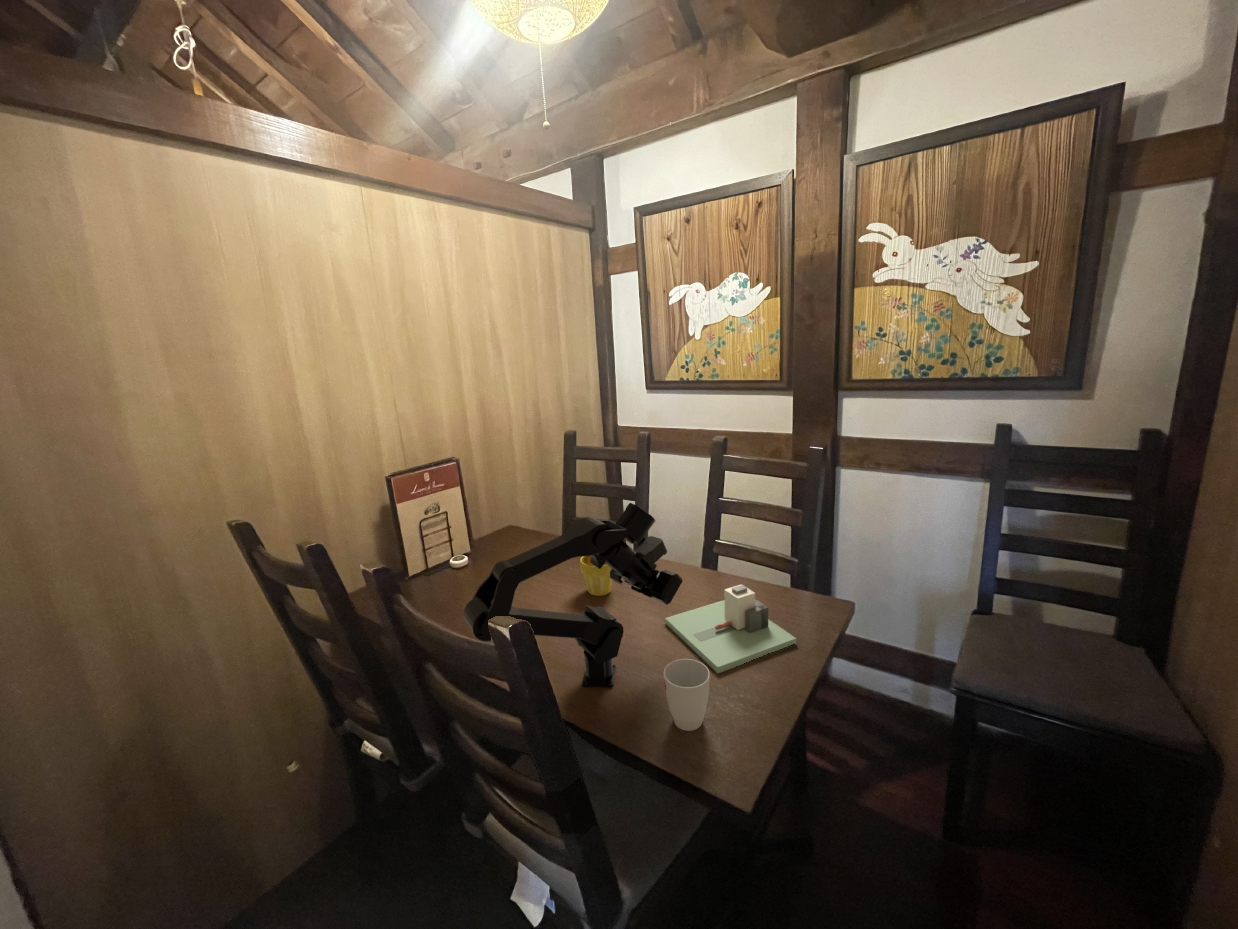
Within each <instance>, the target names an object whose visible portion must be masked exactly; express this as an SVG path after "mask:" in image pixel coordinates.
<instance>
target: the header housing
mask: <svg viewBox="0 0 1238 929" xmlns="http://www.w3.org/2000/svg"><path fill="white" fill-rule="evenodd" d="M768 619H769V607H768V606H767V605H765V604H764V603H762V602H761V601H759V600H758V599H756V598H755V608H752V609H749V610H746V631H748V632H749V633H752V632H755V631H758V630H761V629H764V628H767V627H768Z"/></svg>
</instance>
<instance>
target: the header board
mask: <svg viewBox="0 0 1238 929" xmlns="http://www.w3.org/2000/svg"><path fill="white" fill-rule="evenodd" d="M664 620H665V621H664V622H665V624H666V626H667V627H669V629H670V630H671V631H672V632H674V634H676V635H677V637H679V638H680V639H681V640H682V641H683V642H684V643H685V644H686V645H687V646H688V647H690V649H691V650H693V652H695V653H696V654H697V656H698V657H700V658H701V659H702V660H703V662H705V663H706V664H707V665H709V667H710V668H712V669H713V671H715V673H716V674H720V673H721V674H722V673H723V672H726V671H728V670H731V669H734V668H736V666H737V667H739V666H741V665H744V663H745V664H747V663H750V662H752V661H751V660H753V659H755V660H757V659H756V658H758V657H760V656H763V655H766V654H768V653H771V652H773V651H776V650H779V649H782V648H784V647H787V646H789V645H791V644H794V643H796V644H797V638H796V636H793V635H792V634H791V633H789V632H788V631H786V630H785V629H784V628H782V627H781V626H779V625H778V624H776V623H774V622H773V621H772V620H770V619H769V618H768V627H767V628H764V629H761V630H758V631H755V632H752V633H749V632H748V631H746V627H745V628H742V629H739V630H737V629H736V628H734V627H733V626H732V625H731V626H728V627H725V628H722V629H719V630H716V629H715V626H716V625H719V624H722V623H725V622H727V621H725V604H724V599H723V600H720V601H717V602H713V603H710V604H707V605H703V606H701V607H697V608H694V609H690V610H688V611H683V612H680V613H678V614H673V615H671V616H667V617H665V618H664ZM787 648H788V647H787ZM782 650H783V649H782ZM779 651H780V650H779ZM771 654H772V653H771ZM766 656H767V655H766ZM763 657H764V656H763ZM758 659H759V658H758ZM749 661H750V662H749ZM753 661H754V660H753ZM746 662H747V663H746Z"/></svg>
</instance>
